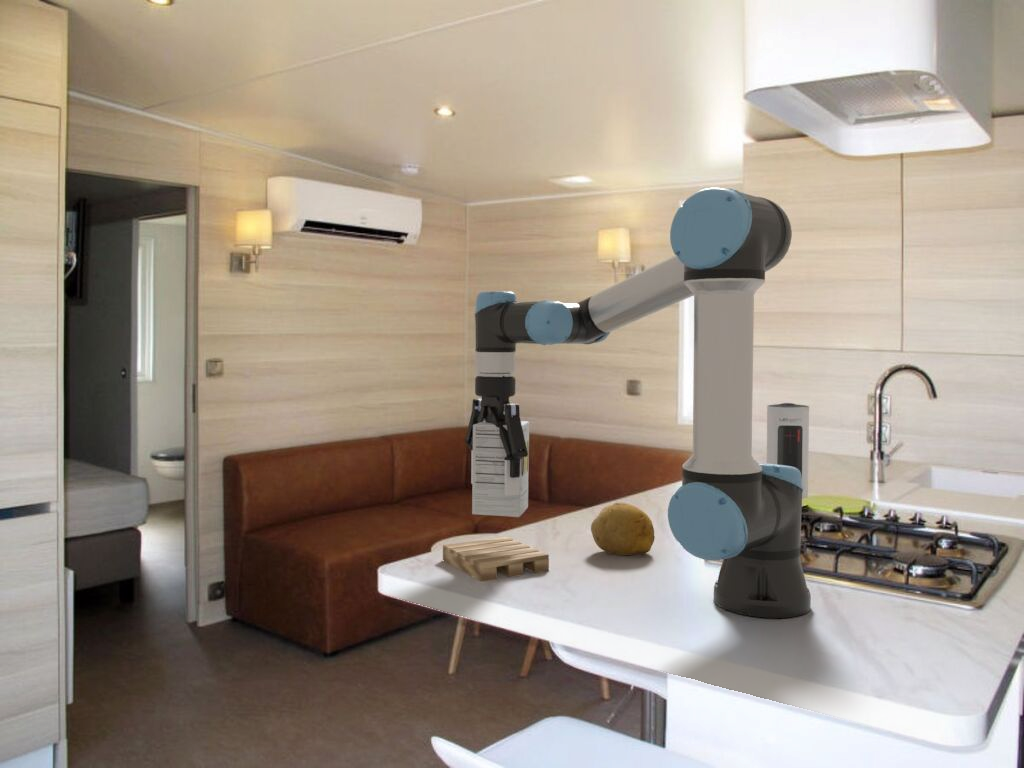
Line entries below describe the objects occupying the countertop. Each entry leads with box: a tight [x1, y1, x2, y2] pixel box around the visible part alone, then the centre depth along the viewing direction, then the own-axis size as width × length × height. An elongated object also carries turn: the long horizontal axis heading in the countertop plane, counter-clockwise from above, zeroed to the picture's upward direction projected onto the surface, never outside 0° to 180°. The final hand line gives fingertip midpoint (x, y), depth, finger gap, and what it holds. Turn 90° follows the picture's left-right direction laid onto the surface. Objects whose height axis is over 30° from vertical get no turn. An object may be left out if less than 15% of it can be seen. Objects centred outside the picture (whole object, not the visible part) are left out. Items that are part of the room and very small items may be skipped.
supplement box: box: [471, 420, 530, 518], centre depth 161 cm, size 10×9×17 cm
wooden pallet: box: [442, 536, 550, 582], centre depth 161 cm, size 16×14×3 cm
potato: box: [590, 502, 656, 556], centre depth 171 cm, size 10×12×10 cm
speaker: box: [766, 402, 810, 499], centre depth 220 cm, size 11×10×26 cm
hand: (494, 489), depth 160 cm, fingers closed on supplement box, 12 cm apart
